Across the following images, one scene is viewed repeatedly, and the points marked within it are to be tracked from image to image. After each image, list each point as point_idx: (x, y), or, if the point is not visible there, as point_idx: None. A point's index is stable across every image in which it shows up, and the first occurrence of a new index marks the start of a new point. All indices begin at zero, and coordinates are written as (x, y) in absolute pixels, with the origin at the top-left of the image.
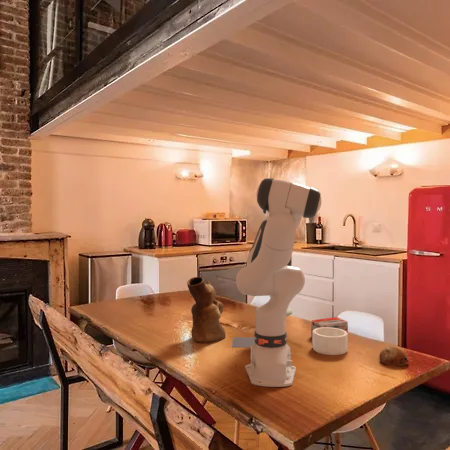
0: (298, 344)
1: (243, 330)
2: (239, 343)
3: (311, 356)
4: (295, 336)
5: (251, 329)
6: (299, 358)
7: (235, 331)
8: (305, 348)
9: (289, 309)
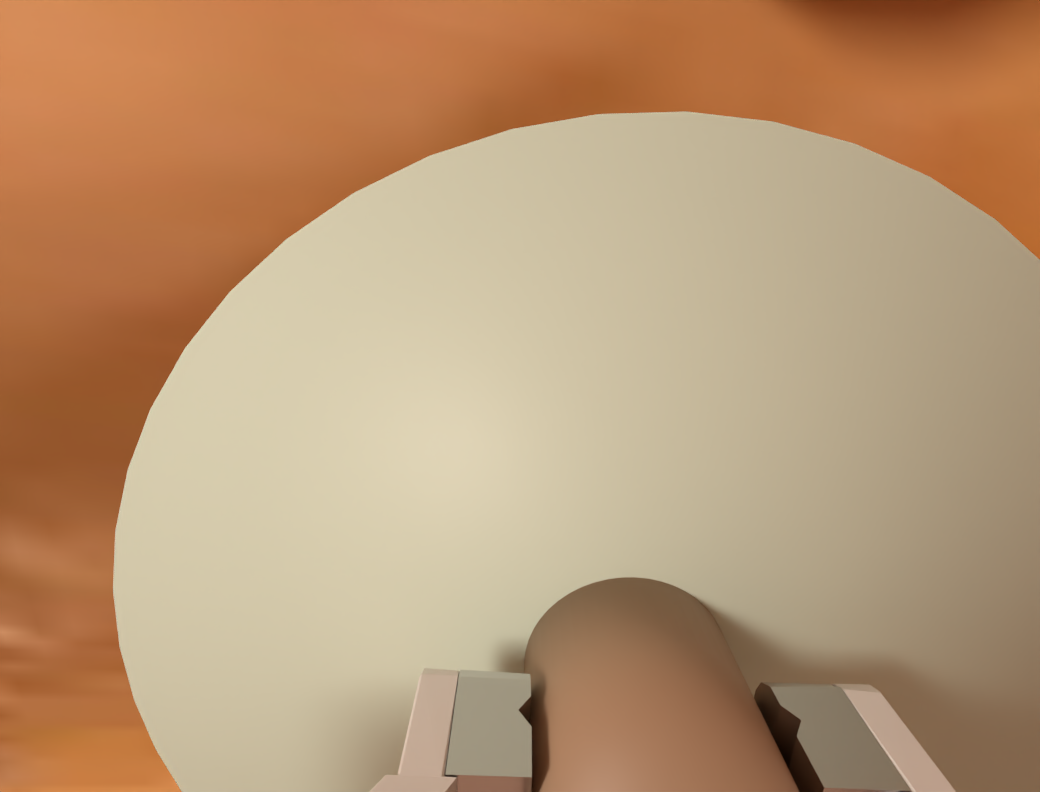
0: (535, 94)
1: (84, 634)
2: None
3: (959, 12)
4: (216, 73)
5: (28, 560)
6: (985, 173)
7: (134, 701)
8: (685, 29)
9: (602, 195)
